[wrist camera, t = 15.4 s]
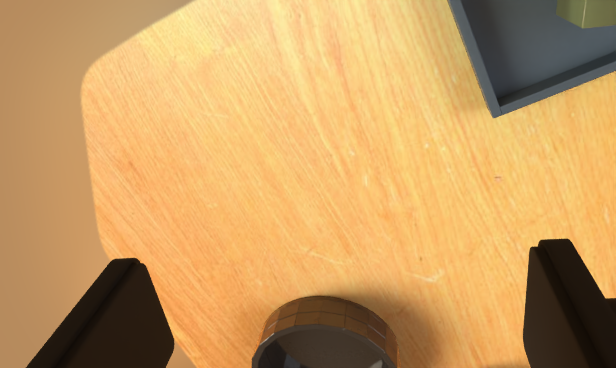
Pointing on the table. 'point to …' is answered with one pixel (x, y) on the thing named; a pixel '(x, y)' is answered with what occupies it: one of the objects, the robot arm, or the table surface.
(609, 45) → the tray
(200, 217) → the table surface
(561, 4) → the block
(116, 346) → the robot arm
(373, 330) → the pan
